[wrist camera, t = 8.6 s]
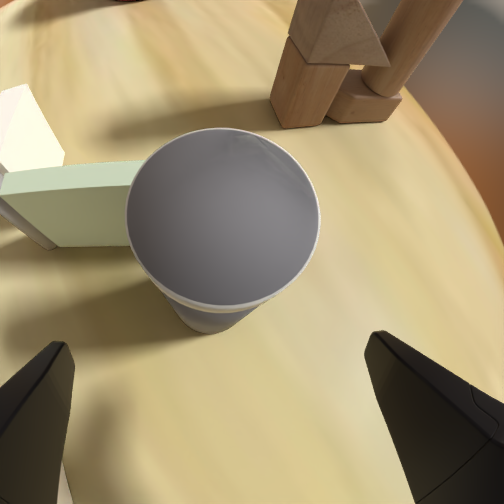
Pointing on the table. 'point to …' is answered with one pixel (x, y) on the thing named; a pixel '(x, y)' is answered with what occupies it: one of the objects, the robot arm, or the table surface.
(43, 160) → the wall frame
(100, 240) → the door
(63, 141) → the table surface
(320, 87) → the toy block tower
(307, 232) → the post
